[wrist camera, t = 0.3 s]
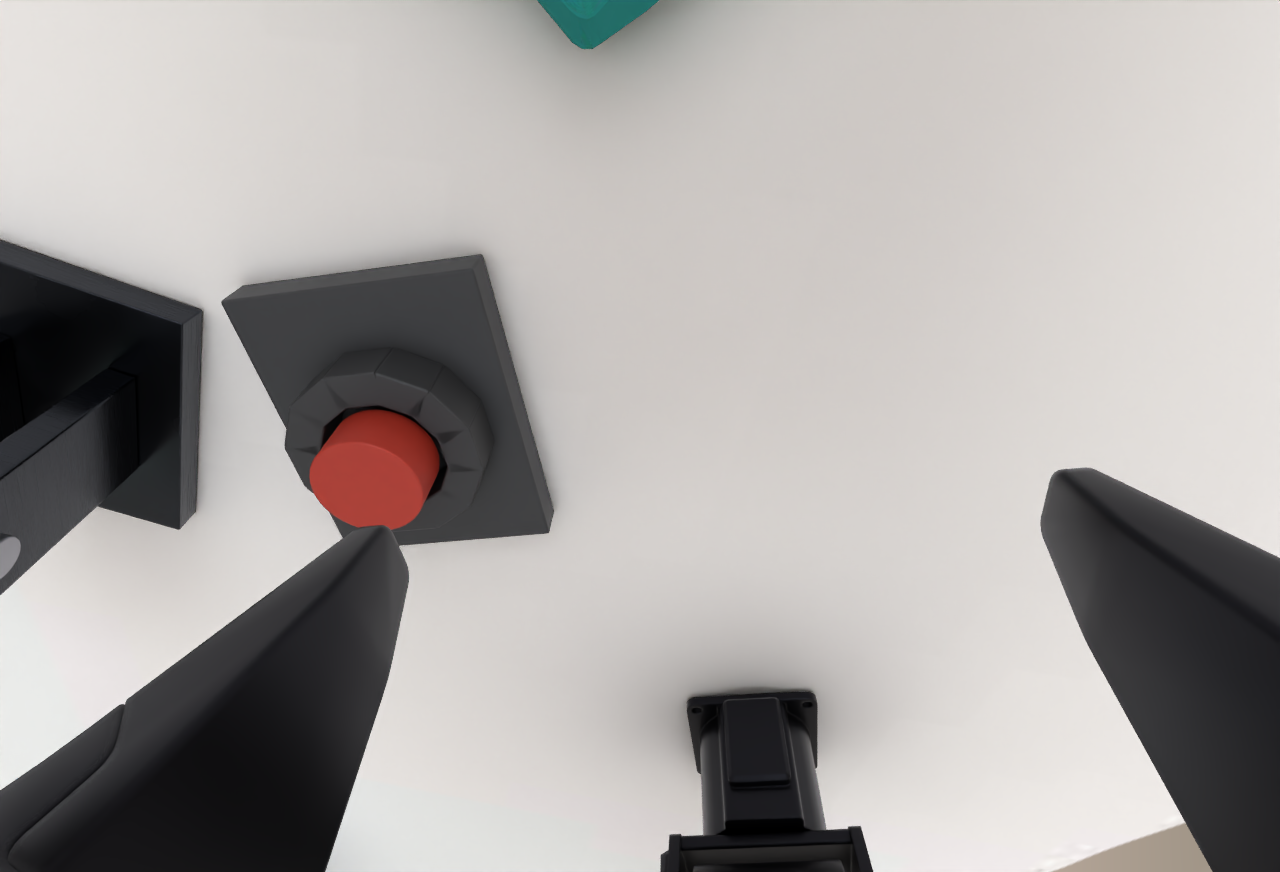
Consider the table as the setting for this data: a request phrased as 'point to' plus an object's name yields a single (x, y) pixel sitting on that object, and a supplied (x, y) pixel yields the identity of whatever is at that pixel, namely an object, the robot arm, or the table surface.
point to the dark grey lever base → (90, 404)
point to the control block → (404, 384)
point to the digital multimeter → (594, 18)
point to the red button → (375, 469)
